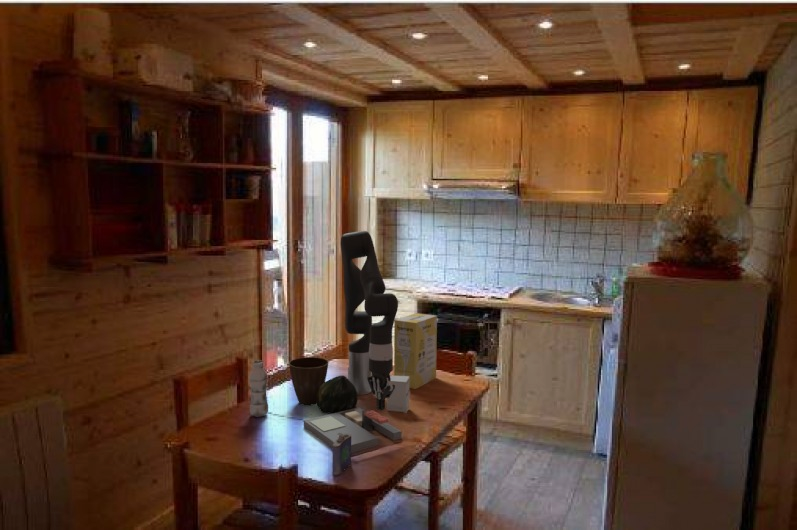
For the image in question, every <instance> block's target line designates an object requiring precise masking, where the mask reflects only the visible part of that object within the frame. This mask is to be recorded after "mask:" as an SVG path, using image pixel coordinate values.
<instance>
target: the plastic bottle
mask: <svg viewBox="0 0 797 530" xmlns="http://www.w3.org/2000/svg"><path fill="white" fill-rule="evenodd" d="M264 367H265V366H264V360H261V359H260V360H253V362H252V370H251V371H250V373H249V375H248V376H249V377H248V380H249V385H250V391H251V392H250V405H249V412H250V415H251V416H252V417H254V416H255V418H260V417H265V416H266V415H267V414H268V413H269V403H268V397H267V383H268V373H267V371H266V370H265V369H264Z"/></svg>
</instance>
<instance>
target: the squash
mask: <svg viewBox="0 0 797 530" xmlns="http://www.w3.org/2000/svg"><path fill="white" fill-rule="evenodd" d="M357 404H358V395H357V391H356V388H355V386H354V385H353V384H352V383H351V382H350V381H349V380H348V377H346V375H337V376H335V377H333V378H331V379H328V380H325V383H323V384H322V385H321V386H320V388H319V390H318V391H317V394H316V404H315V405H316V406H317V408H318V410H320V411H321V412H322V413H323V414H333V413H337V412H341V411H346V410H350V409H354V408H357Z"/></svg>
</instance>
